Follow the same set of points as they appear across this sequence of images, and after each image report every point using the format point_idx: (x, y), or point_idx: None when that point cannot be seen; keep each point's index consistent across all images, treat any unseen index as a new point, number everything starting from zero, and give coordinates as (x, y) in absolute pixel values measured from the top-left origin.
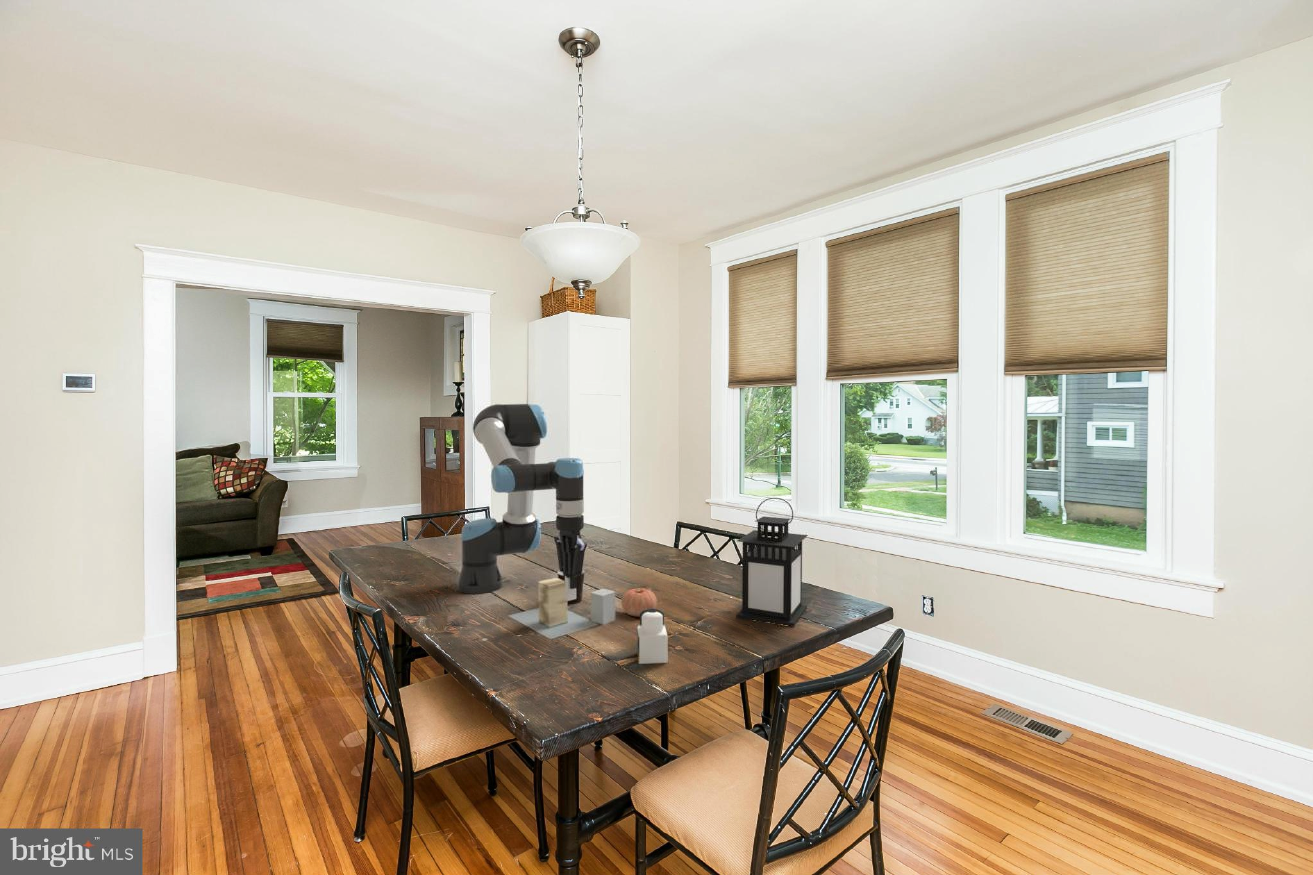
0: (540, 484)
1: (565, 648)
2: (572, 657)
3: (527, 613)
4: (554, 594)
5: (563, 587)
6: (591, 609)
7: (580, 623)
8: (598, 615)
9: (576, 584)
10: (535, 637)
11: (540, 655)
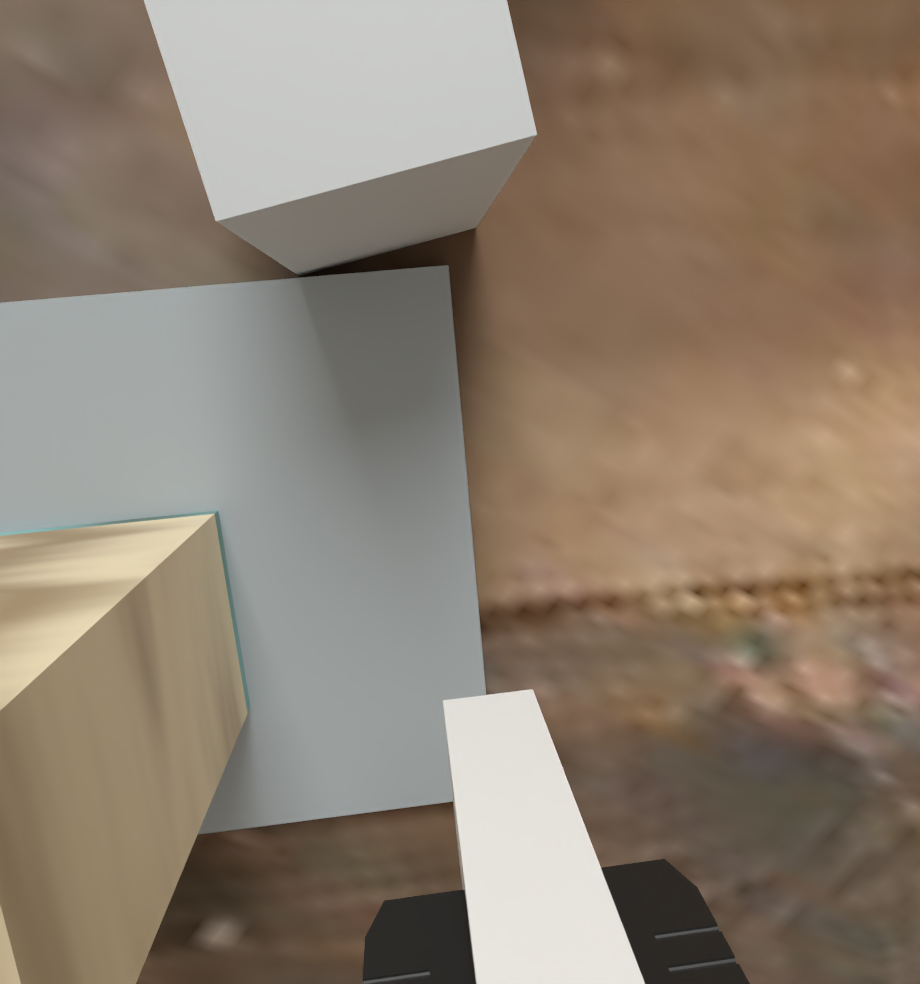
0: None
1: (698, 746)
2: (872, 771)
3: None
4: (120, 890)
5: (39, 778)
6: (282, 256)
7: (304, 407)
8: (407, 230)
9: (713, 926)
10: (343, 849)
11: None
